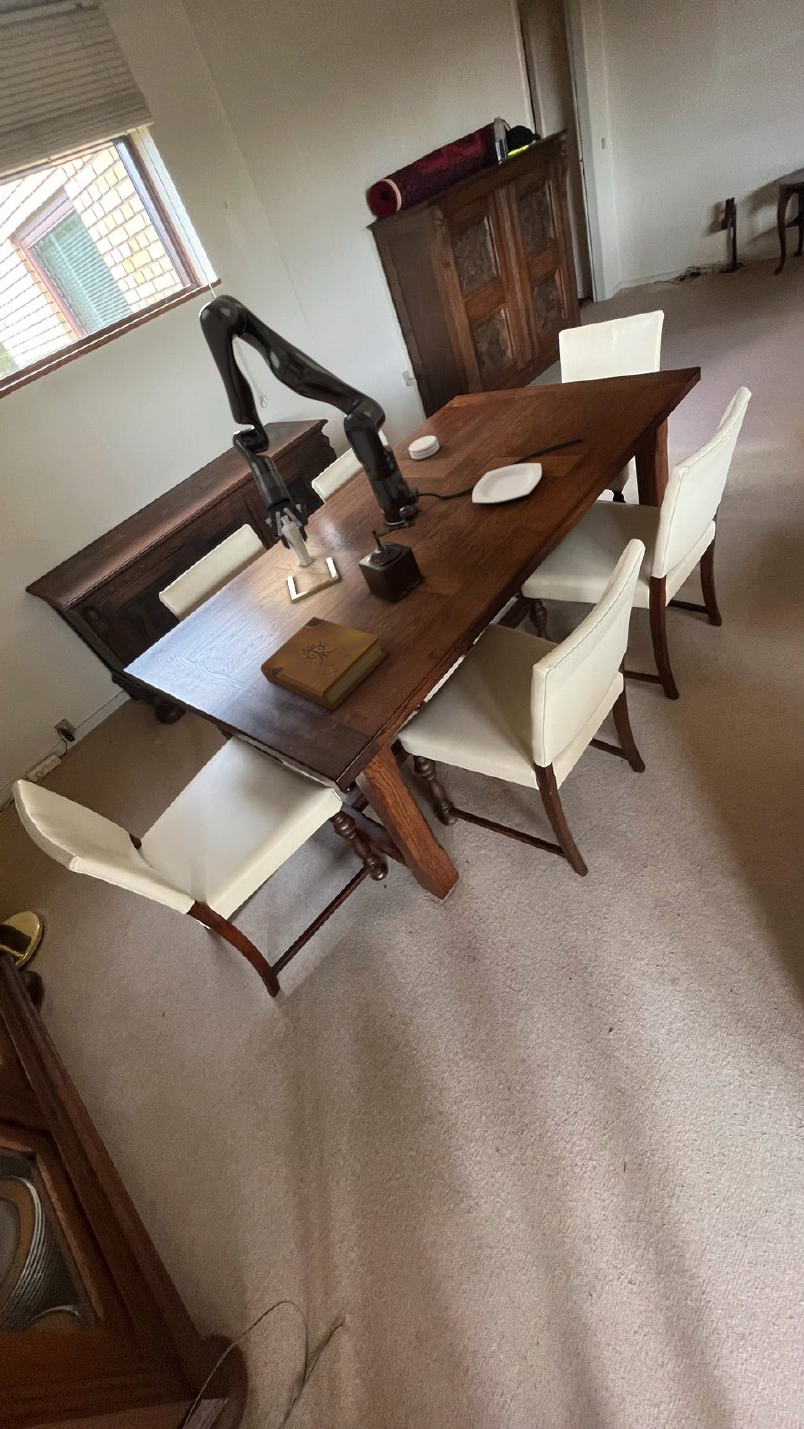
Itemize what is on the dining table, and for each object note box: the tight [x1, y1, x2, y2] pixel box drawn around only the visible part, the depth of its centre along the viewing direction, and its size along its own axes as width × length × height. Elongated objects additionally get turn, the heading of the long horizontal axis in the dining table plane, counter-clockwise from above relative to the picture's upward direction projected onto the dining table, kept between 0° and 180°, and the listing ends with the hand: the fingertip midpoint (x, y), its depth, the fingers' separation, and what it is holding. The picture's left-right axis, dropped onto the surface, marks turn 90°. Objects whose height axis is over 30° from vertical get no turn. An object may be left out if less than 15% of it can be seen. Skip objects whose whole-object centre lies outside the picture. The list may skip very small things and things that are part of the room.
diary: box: [260, 616, 388, 711], centre depth 142 cm, size 23×19×6 cm
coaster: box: [408, 435, 440, 461], centre depth 209 cm, size 10×10×4 cm
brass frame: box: [286, 556, 341, 604], centre depth 176 cm, size 13×14×1 cm
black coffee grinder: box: [357, 506, 424, 603], centre depth 153 cm, size 16×11×18 cm
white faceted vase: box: [281, 515, 314, 567], centre depth 180 cm, size 5×4×15 cm
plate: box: [471, 462, 543, 504], centre depth 172 cm, size 19×19×2 cm
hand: (297, 544), depth 179 cm, fingers closed on white faceted vase, 4 cm apart
